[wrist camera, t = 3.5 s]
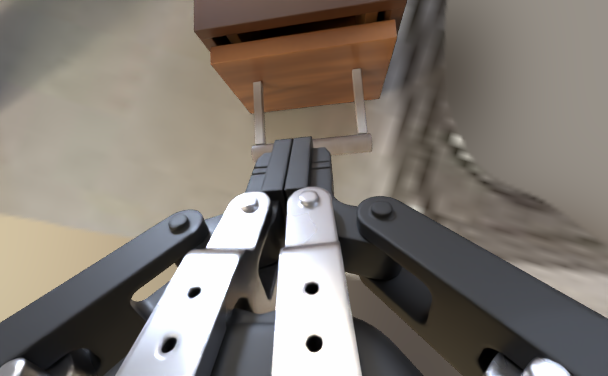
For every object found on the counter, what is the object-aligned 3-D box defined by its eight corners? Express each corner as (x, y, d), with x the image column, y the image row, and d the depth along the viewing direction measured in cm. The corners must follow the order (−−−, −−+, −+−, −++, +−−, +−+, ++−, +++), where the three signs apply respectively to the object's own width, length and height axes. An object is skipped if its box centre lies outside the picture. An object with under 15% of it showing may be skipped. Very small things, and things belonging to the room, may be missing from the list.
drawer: (386, 165, 23) (409, 134, 15) (252, 176, 24) (211, 153, 16) (364, -39, 26) (374, -153, 18) (246, -18, 27) (208, -114, 19)
